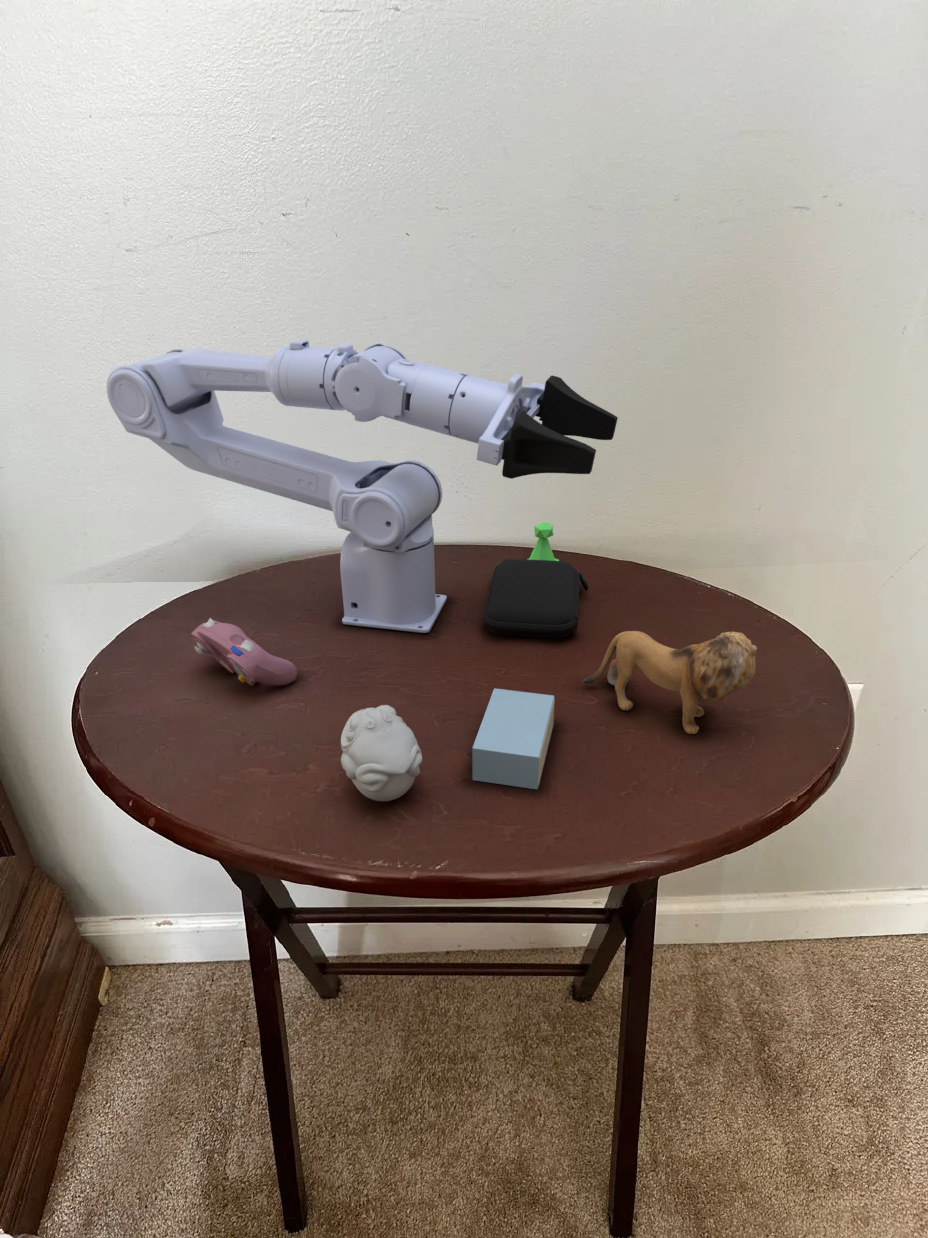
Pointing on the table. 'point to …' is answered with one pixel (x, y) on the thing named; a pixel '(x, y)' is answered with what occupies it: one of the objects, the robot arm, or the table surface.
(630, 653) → the lion figurine
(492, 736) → the pale blue rectangular box
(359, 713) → the frog figurine
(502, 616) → the carrying case
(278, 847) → the table surface
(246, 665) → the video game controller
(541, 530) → the game piece
